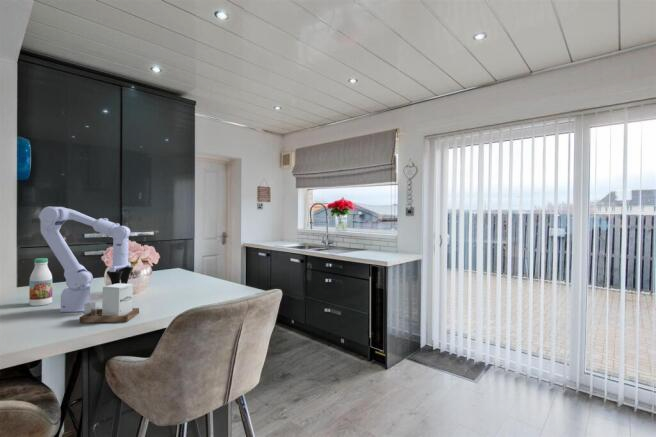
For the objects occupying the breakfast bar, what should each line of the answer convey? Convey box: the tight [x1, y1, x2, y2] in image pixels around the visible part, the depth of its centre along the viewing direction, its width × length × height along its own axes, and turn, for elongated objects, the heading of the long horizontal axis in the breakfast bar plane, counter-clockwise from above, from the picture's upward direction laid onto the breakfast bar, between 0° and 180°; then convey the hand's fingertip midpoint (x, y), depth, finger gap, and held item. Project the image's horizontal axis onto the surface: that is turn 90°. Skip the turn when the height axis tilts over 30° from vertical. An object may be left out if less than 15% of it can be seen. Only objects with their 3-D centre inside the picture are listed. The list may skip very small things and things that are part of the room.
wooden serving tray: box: [79, 301, 140, 324], centre depth 131 cm, size 17×11×6 cm, turn 98°
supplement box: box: [101, 282, 134, 316], centre depth 131 cm, size 7×7×13 cm
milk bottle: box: [28, 257, 53, 307], centre depth 149 cm, size 8×8×20 cm
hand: (120, 285), depth 146 cm, fingers open, 7 cm apart
